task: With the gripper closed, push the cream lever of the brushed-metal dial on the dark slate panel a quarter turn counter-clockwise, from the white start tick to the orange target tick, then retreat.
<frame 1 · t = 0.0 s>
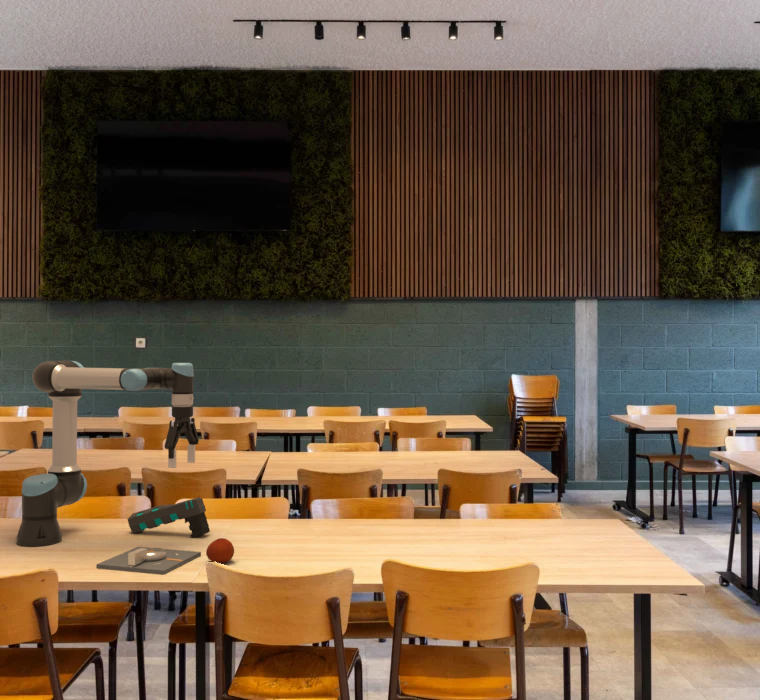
hand: (181, 465, 292), 28 cm above the table, fingers open, 13 cm apart
gun: (168, 535, 305), on the table
panel: (150, 561, 267), on the table
dial: (145, 553, 264), point 3 cm above the table, hinge at -90.0°
fruit: (219, 563, 267), on the table
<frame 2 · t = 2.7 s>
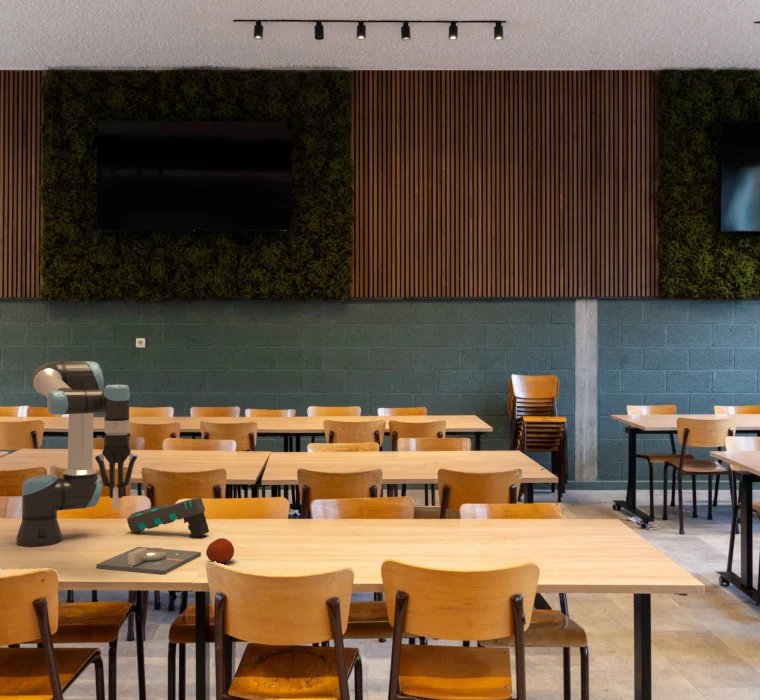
hand: (116, 508, 257), 19 cm above the table, fingers closed
nothing on the table moved.
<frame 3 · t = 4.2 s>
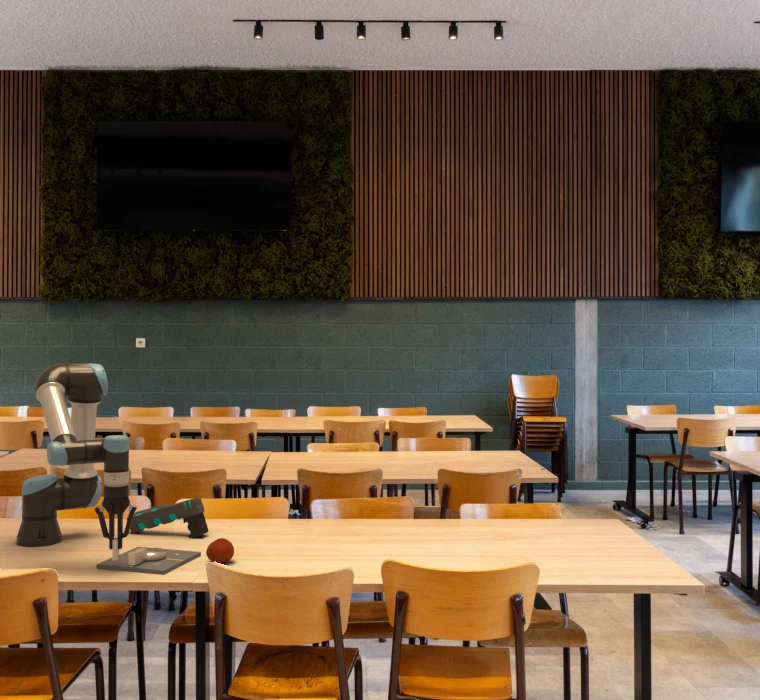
hand: (115, 559, 257), 3 cm above the table, fingers closed
nothing on the table moved.
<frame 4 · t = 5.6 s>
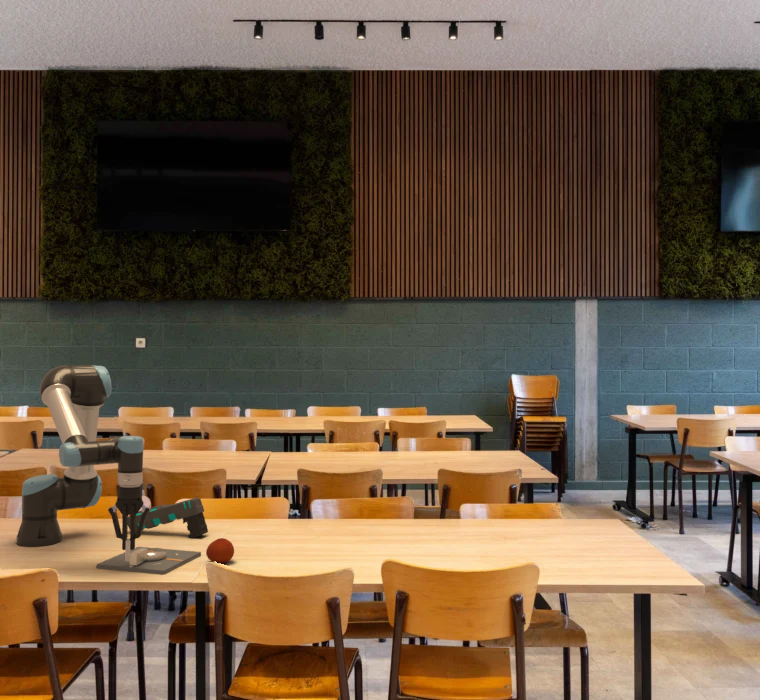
hand: (128, 560, 257), 3 cm above the table, fingers closed
dial: (145, 553, 264), point 3 cm above the table, hinge at -87.1°, touching gripper
everything else where it was.
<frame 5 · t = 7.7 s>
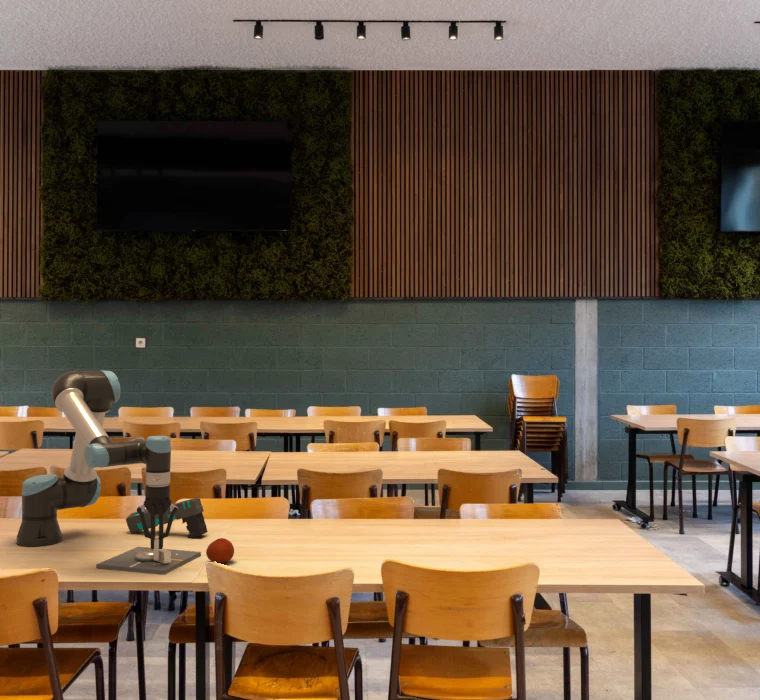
hand: (156, 559, 259), 3 cm above the table, fingers closed
dial: (154, 553, 265), point 3 cm above the table, hinge at -30.5°, touching gripper
everything else where it was.
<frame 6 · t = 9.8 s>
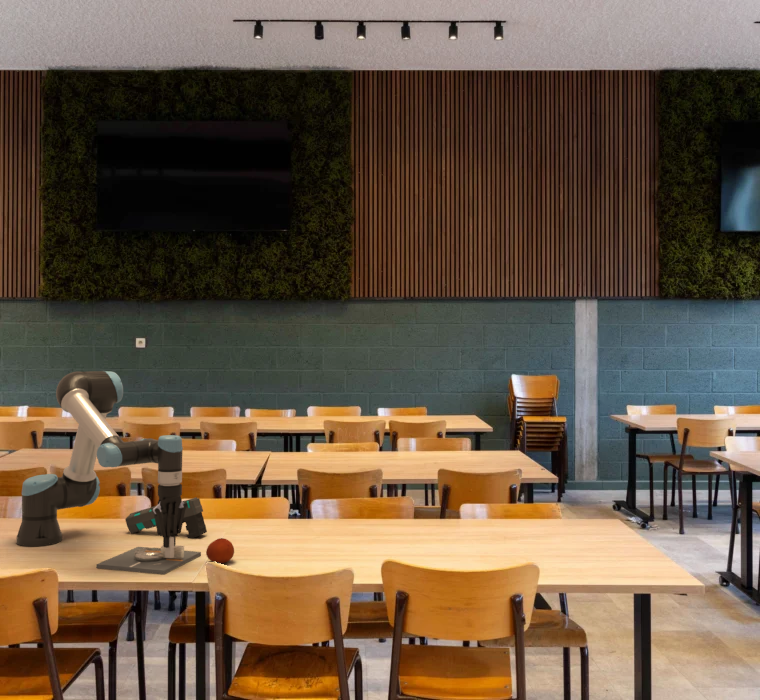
hand: (169, 556, 262), 3 cm above the table, fingers closed
dial: (159, 551, 266), point 3 cm above the table, hinge at 8.9°
everything else where it was.
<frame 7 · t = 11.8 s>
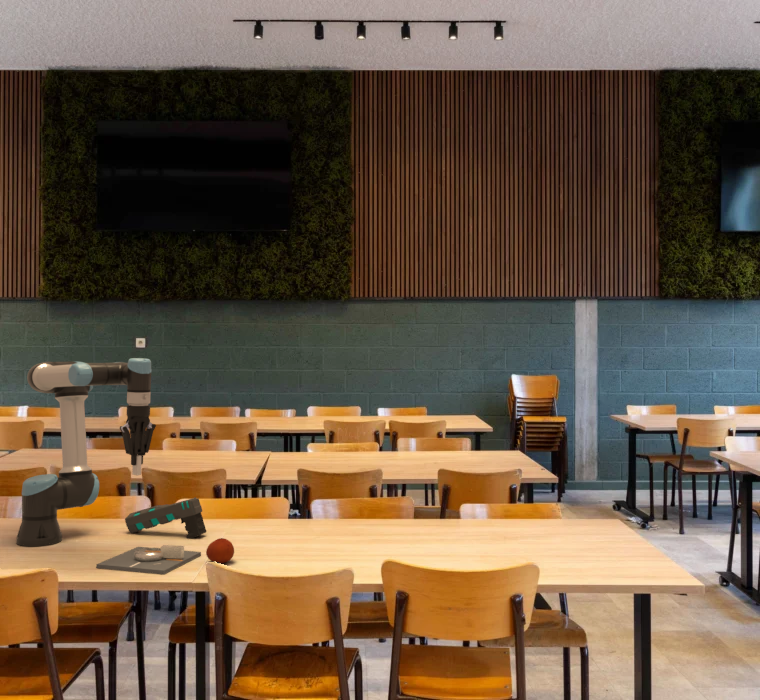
hand: (136, 474, 273), 27 cm above the table, fingers closed
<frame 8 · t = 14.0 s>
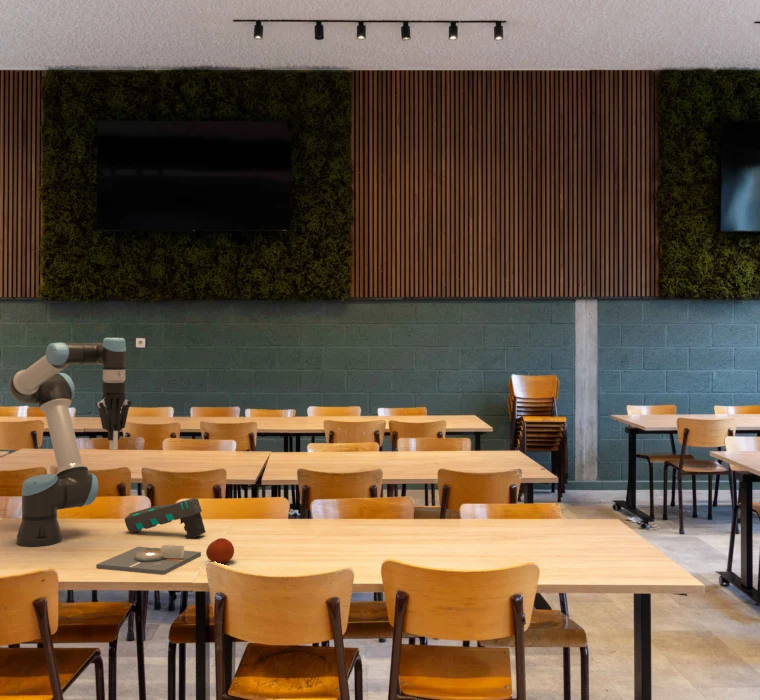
hand: (113, 449, 284), 34 cm above the table, fingers closed
at the end: dial at +9° (first picture: -90°) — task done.
